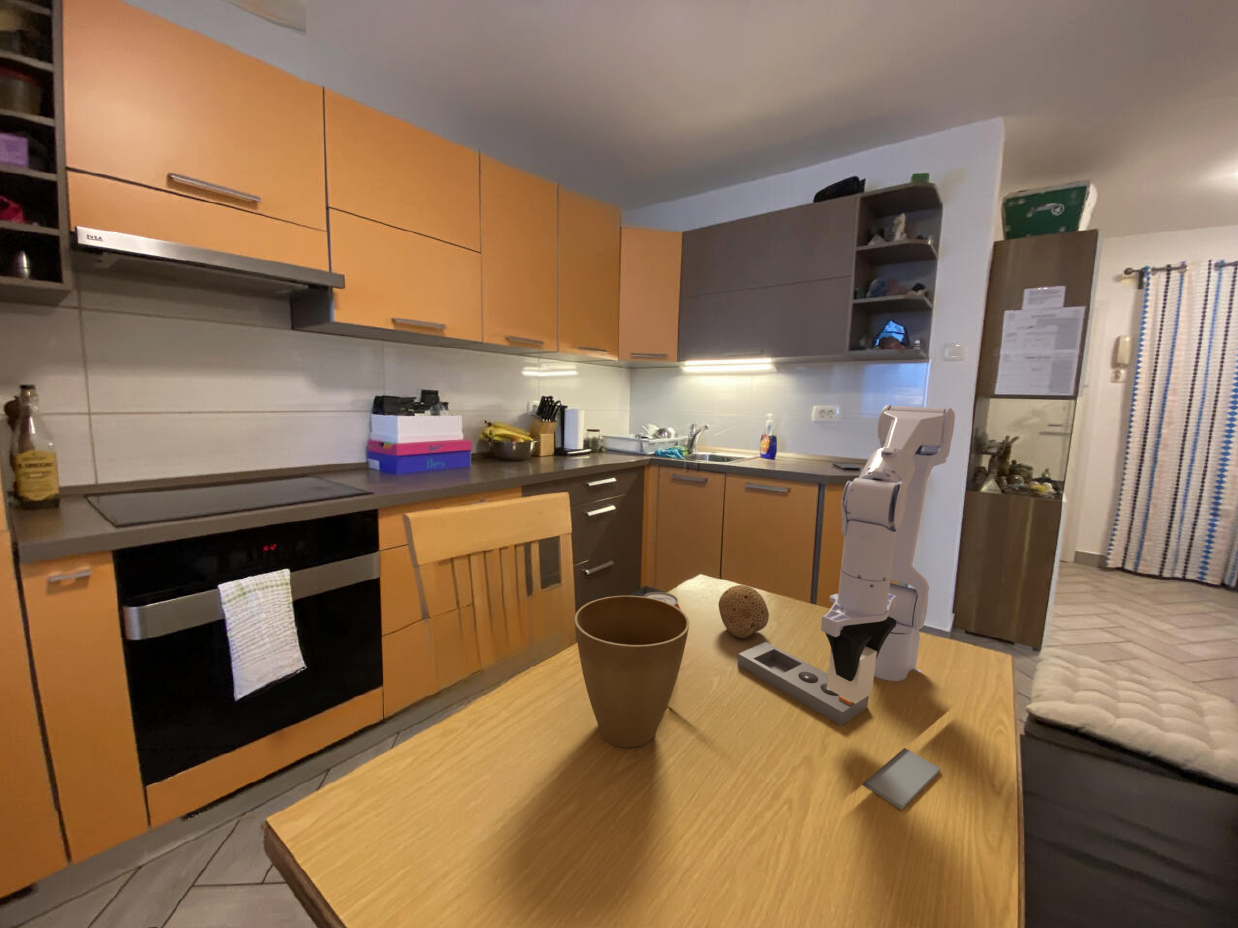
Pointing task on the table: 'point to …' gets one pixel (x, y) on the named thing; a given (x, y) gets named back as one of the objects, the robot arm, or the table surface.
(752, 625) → the natural sponge
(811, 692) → the power strip
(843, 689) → the block
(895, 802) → the mat
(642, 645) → the plant pot
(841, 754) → the table surface
